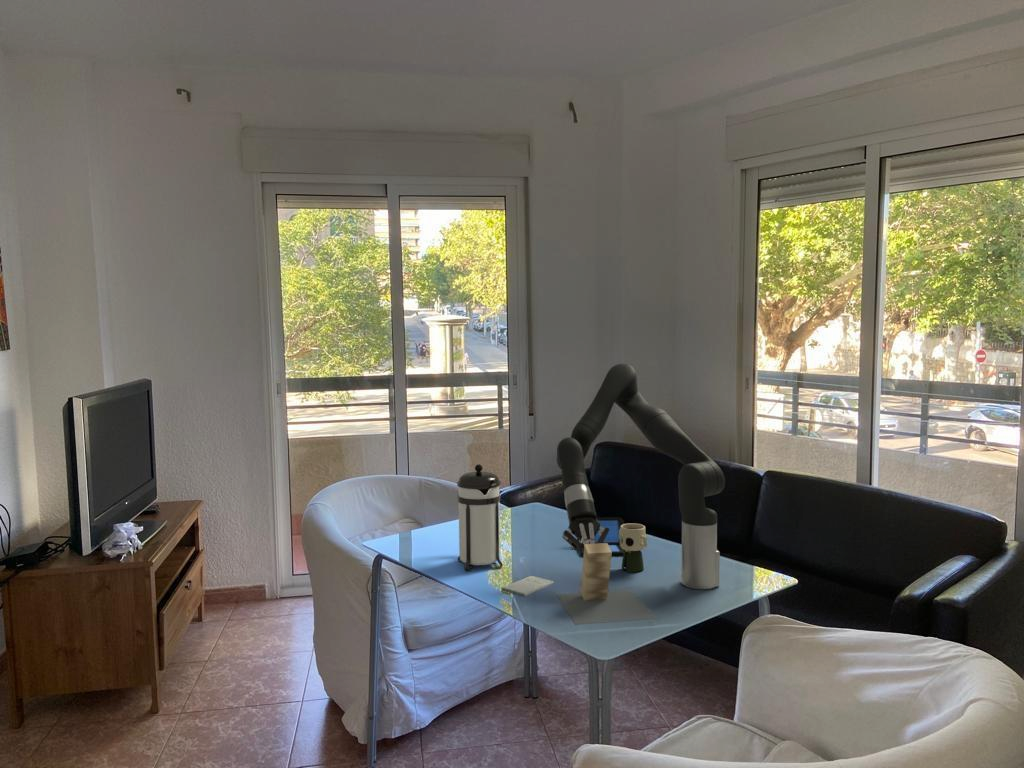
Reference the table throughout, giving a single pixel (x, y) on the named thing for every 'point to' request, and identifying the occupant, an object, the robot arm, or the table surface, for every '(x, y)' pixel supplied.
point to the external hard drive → (527, 585)
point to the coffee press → (479, 518)
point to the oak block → (595, 571)
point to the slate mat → (605, 608)
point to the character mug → (632, 546)
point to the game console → (610, 535)
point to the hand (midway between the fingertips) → (592, 563)
